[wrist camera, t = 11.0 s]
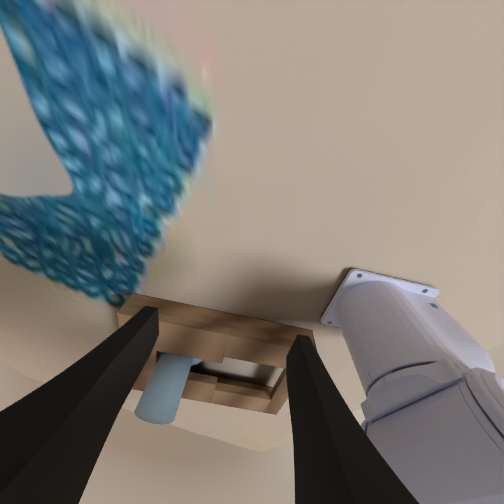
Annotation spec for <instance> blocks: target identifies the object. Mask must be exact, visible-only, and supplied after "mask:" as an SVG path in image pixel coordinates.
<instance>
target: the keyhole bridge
mask: <svg viewBox="0 0 504 504" xmlns="http://www.w3.org/2000/svg"><path fill="white" fill-rule="evenodd" d="M144 306H151V307H156V308H158V317H159V336H158V338H157V340H156V343H155V345H154V347H153V350H152V352H151V354H150V356H149V358H148V360H147V362H146V364H145V365H144V367H143V369H142V371H141V373H140V375H139V376H138V378H137V380H136V382H135V384H134V385H133V387H132V389H135V390H140V391H144V390H145V388H146V386H147V384H148V381H149V379H150V377H151V375H152V373H153V371H154V369H155V366H156V364H157V362H158V360H159V358H160V351H161V352H166V353H171V354H176V355H182V356H187V357H192V358H197V359H202V360H208V361H213V362H218V363H222V361H223V357H228V358H233V359H238V360H244V361H249V362H254V363H259V364H264V365H269V366H275V367H280V368H284V370H283V371H282V373H281V375H280V377H279V378H278V380H277V382H276V384H275V386H274V387H268V386H263V385H258V384H252V383H247V382H241V381H236V380H231V379H225V378H220V377H215V376H209V375H204V374H199V373H193V372H189V374H188V377H187V380H186V383H185V387H184V390H183V393H182V396H181V398H185V399H191V400H196V401H202V402H208V403H213V404H219V405H224V406H230V407H236V408H241V409H247V410H252V411H258V412H264V413H269V414H275V415H277V413H278V412H279V410H280V409H281V407H282V406H283V404H284V403H285V401H286V400H287V398H288V389H287V380H286V356H287V354H288V352H289V350H290V348H291V346H292V344H293V342H294V341H295V339H296V337H297V335H298V334H300V335H305V336H309V337H310V338H311V340H312V342H313V344H314V346H315V348H316V344H315V340H314V336H313V331H312V330H307V329H302V328H298V327H293V326H288V325H283V324H278V323H274V322H269V321H264V320H259V319H254V318H250V317H245V316H240V315H235V314H230V313H226V312H221V311H216V310H211V309H206V308H202V307H197V306H192V305H187V304H182V303H177V302H173V301H168V300H163V299H158V298H153V297H149V296H144V295H139V294H134V293H132V295H131V296H130V297H129V298H128V300H127V301H126V302H125V303H124V304H123V306H122V307H121V308H120V309H119V311H118V312H117V318H118V324H119V328H120V327H121V326H122V325H124V324H125V323H126V322H127V321H128V320H129V319H131V318H132V317H133V316H134V315H135V314H136V313H137V312H138V311H140V310H141V309H142V308H143V307H144ZM316 350H317V349H316Z"/></svg>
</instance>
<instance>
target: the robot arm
mask: <svg viewBox="0 0 504 504" xmlns="http://www.w3.org/2000/svg"><path fill="white" fill-rule="evenodd" d="M358 274H360V275H359V276H357V275H358ZM438 294H439V290H438V289H437V288H436V287H432V286H428V285H423V284H419V283H415V282H410V281H406V280H402V279H398V278H393V277H389V276H385V275H380V274H376V273H372V272H367V271H363V270H359V269H351V270H350V271H349V272H348V274H347V275H346V277H345V279H344V280H343V282H342V284H341V285H340V287H339V289H338V291H337V292H336V294H335V296H334V297H333V299H332V301H331V302H330V304H329V306H328V307H327V309H326V311H325V312H324V314H323V316H322V318H321V323H322V324H324V325H329V326H333V327H338V328H341V330H342V333H343V336H344V338H345V341H346V344H347V346H348V349H349V352H350V354H351V357H352V359H353V362H354V365H355V367H356V370H357V373H358V375H359V378H360V381H361V383H362V386H363V389H364V391H365V394H366V397H367V399H366V400H365V401H364V402H362V403H361V407H362V410H363V413H364V416H365V419H366V420H365V421H364V422H363V423H362V424H361V426H360V425H359V423H358V422H357V420H356V419H355V417H354V416H353V414H352V412H351V411H350V409H349V408H348V406H347V404H346V403H345V401H344V399H343V398H342V396H341V394H340V393H339V391H338V389H337V388H336V386H335V384H334V382H333V380H332V379H331V377H330V375H329V373H328V371H327V370H326V368H325V366H324V364H323V362H322V360H321V358H320V356H319V354H318V352H317V350H316V348H315V346H314V344H313V342H312V340H311V338H310V337H309V336H305V335H300V334H298V335H297V337H296V339H295V341H294V342H293V344H292V346H291V348H290V350H289V352H288V354H287V356H286V380H287V389H288V398H289V406H290V414H291V423H292V432H293V444H294V469H295V504H504V376H502V375H500V374H497V373H496V372H495V368H494V365H493V363H492V361H491V358H490V357H489V355H488V353H487V352H486V350H485V349H484V348H483V347H482V345H481V344H480V343H479V342H478V341H477V340H476V339H475V338H474V337H473V336H472V335H471V334H470V333H469V332H468V331H467V330H466V329H465V328H464V327H463V326H462V325H461V324H460V323H459V322H458V321H457V320H456V319H455V318H454V317H453V316H452V315H451V314H450V313H449V312H448V311H447V310H446V309H445V308H444V307H443V306H442V305H441V304H440V303H439V302H438V301H437V300H436V299H435V297H436V296H437V295H438ZM329 321H330V322H329ZM158 336H159V317H158V308H156V307H151V306H144V307H143V308H142V309H141V310H140V311H138V312H137V313H136V314H135V315H134V316H133V317H132V318H131V319H129V320H128V321H127V322H126V323H125V324H124V325H122V326H121V327H120V328H119V329H118V330H117V331H115V332H114V333H113V334H112V335H110V336H109V337H108V338H107V339H106V340H104V341H103V342H102V343H101V344H99V345H98V346H97V347H95V348H94V349H93V350H92V351H90V352H89V353H88V354H86V355H85V356H84V357H82V358H81V359H80V360H78V361H77V362H76V363H74V364H73V365H71V366H70V367H69V368H67V369H66V370H64V371H63V372H61V373H60V374H59V375H57V376H56V377H54V378H53V379H51V380H50V381H48V382H47V383H45V384H44V385H42V386H41V387H39V388H37V389H36V390H34V391H33V392H31V393H30V394H28V395H26V396H25V397H23V398H22V399H20V400H19V401H17V402H15V403H14V404H12V405H11V406H9V407H7V408H6V409H4V410H2V411H0V504H79V501H80V498H81V496H82V494H83V491H84V489H85V487H86V485H87V482H88V480H89V477H90V475H91V473H92V470H93V468H94V466H95V464H96V461H97V459H98V457H99V454H100V452H101V450H102V448H103V446H104V443H105V441H106V439H107V436H108V435H109V432H110V430H111V428H112V426H113V424H114V421H115V419H116V417H117V415H118V413H119V411H120V409H121V407H122V405H123V403H124V402H125V400H126V398H127V396H128V394H129V393H130V391H131V389H132V387H133V385H134V384H135V382H136V380H137V378H138V376H139V375H140V373H141V371H142V369H143V367H144V365H145V364H146V362H147V360H148V358H149V356H150V354H151V352H152V350H153V347H154V345H155V343H156V340H157V338H158Z"/></svg>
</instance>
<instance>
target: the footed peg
mask: <svg viewBox="0 0 504 504" xmlns="http://www.w3.org/2000/svg"><path fill="white" fill-rule="evenodd" d="M201 361H202V359H197V358H192V357H187V356H182V355H176V354H171V353H166V352H161V351H160V358H159V360H158V362H157V364H156V366H155V369H154V371H153V373H152V375H151V377H150V379H149V381H148V384H147V386H146V388H145V390H144V392H143V394H142V396H141V398H140V401H139V403H138V405H137V407H136V409H135V415H136V416H137V417H138V418H140V419H142V420H144V421H146V422H150V423H154V424H169V423H172V422H173V421H174V418H175V415H176V412H177V409H178V405H179V402H180V399H181V396H182V393H183V390H184V387H185V383H186V380H187V377H188V374H189V371H190V368H191V366H192V365H196V364H198V363H200V362H201Z"/></svg>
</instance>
